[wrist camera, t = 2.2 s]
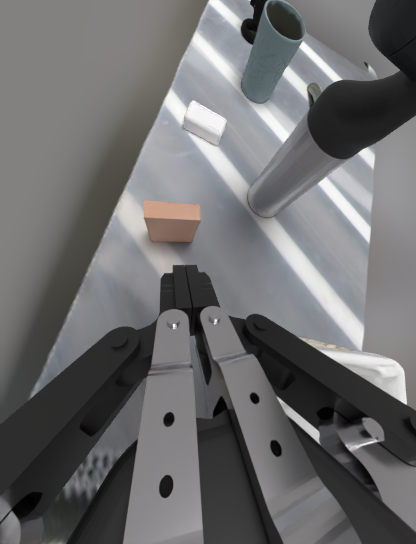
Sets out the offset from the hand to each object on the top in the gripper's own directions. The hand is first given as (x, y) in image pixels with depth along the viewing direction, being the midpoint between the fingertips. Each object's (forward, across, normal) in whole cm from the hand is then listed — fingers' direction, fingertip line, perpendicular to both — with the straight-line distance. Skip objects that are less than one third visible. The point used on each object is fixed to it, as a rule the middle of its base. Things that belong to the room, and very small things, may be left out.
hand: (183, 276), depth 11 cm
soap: (+42, -8, -12) cm, 45 cm away
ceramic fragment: (+53, -44, -23) cm, 72 cm away
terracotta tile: (+23, 0, +7) cm, 24 cm away
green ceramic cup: (+53, -24, -23) cm, 63 cm away
